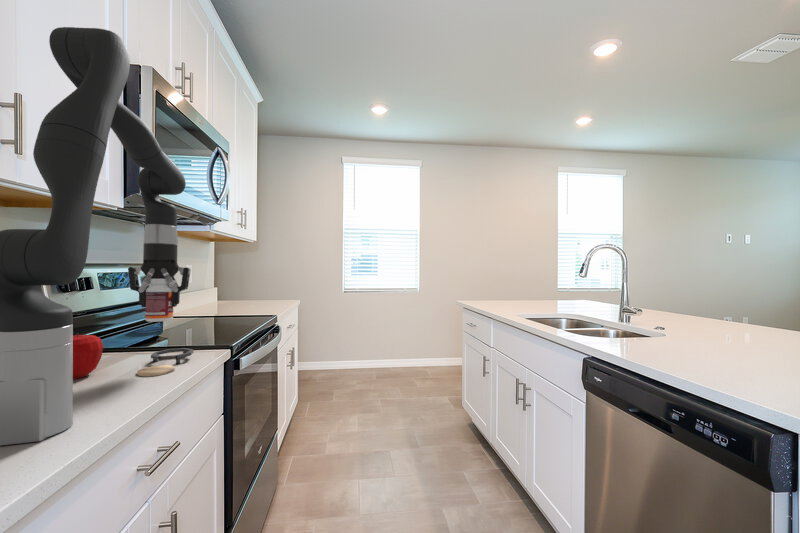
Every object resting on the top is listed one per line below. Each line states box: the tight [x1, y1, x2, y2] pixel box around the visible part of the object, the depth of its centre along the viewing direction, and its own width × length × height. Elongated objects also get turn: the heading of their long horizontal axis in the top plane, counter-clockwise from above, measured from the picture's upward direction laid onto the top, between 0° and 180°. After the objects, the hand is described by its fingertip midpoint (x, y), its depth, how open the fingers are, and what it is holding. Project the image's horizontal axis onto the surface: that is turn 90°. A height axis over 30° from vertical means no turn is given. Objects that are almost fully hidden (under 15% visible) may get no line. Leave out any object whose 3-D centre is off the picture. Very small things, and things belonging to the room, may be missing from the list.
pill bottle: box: [144, 279, 174, 323], centre depth 97 cm, size 6×6×11 cm
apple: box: [73, 332, 104, 380], centre depth 90 cm, size 10×10×11 cm
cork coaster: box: [136, 364, 176, 377], centre depth 94 cm, size 8×8×1 cm
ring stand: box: [150, 347, 195, 365], centre depth 105 cm, size 10×10×2 cm
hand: (159, 306), depth 97 cm, fingers closed on pill bottle, 6 cm apart
